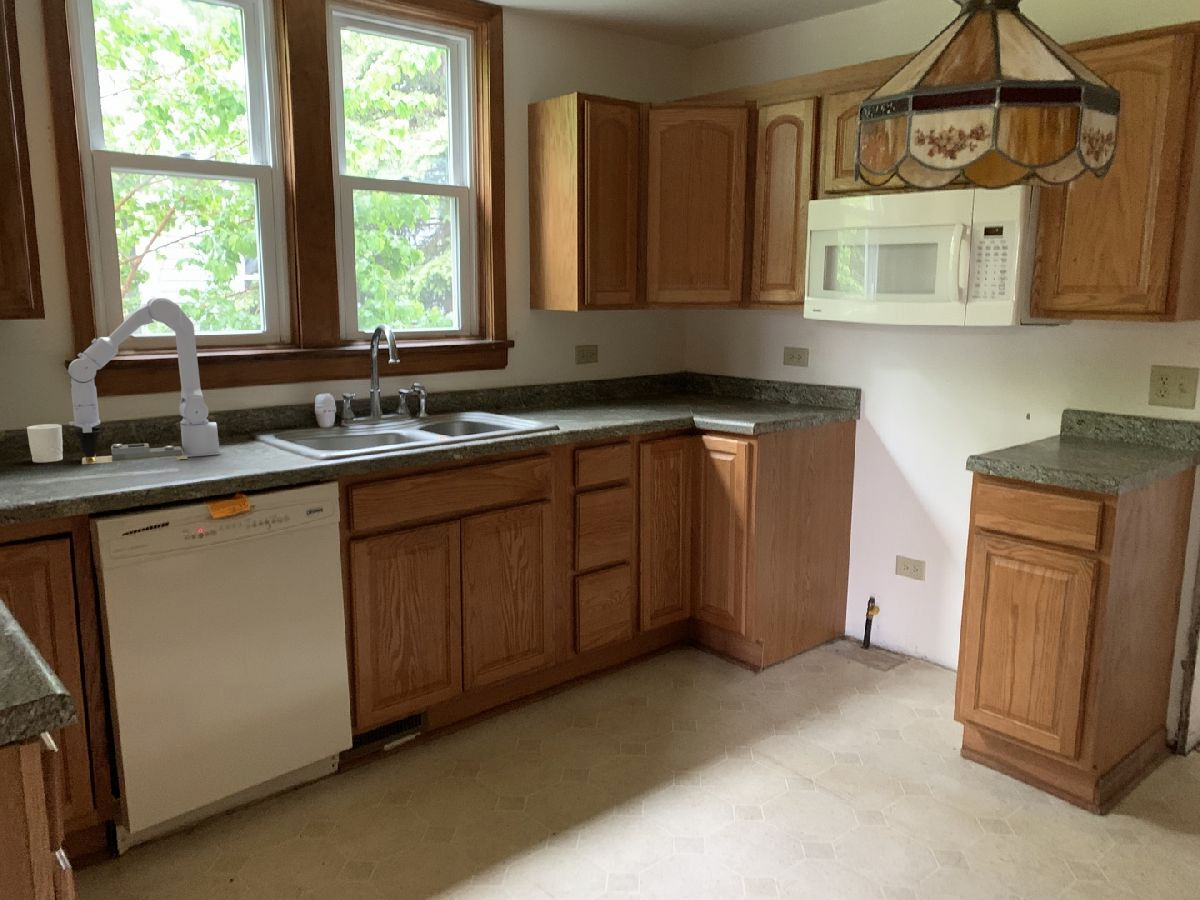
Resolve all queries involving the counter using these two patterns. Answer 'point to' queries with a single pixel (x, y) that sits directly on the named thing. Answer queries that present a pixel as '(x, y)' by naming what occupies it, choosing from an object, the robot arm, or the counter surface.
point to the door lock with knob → (138, 453)
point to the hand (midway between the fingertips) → (90, 455)
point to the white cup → (45, 442)
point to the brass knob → (90, 458)
